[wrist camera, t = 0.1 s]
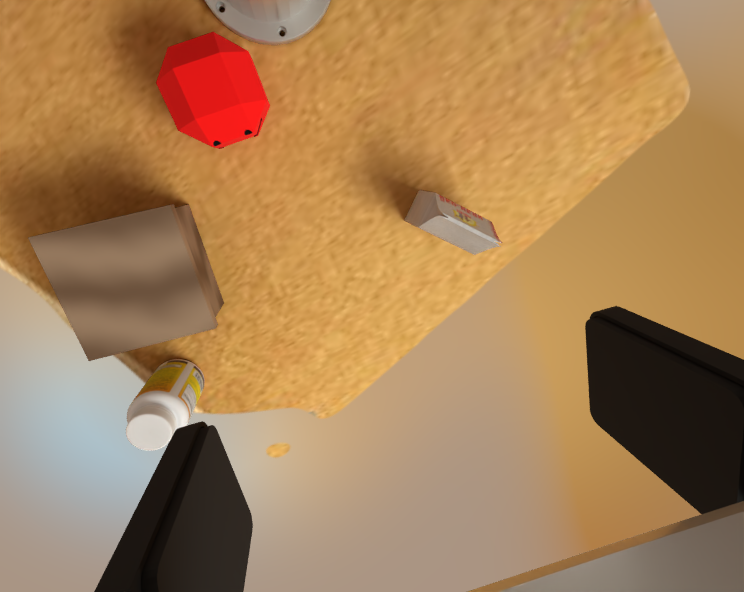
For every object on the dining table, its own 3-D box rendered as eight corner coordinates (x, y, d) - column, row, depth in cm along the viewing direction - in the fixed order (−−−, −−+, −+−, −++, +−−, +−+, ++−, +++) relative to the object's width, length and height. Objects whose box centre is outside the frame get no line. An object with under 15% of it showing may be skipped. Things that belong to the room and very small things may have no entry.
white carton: (454, 244, 48) (491, 263, 38) (404, 220, 46) (430, 233, 36) (469, 215, 47) (511, 227, 37) (419, 190, 45) (449, 194, 36)
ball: (204, 156, 41) (182, 153, 34) (165, 71, 38) (133, 48, 31) (279, 130, 41) (274, 121, 34) (246, 43, 38) (233, 14, 31)
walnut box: (72, 226, 41) (27, 237, 34) (191, 199, 42) (169, 204, 35) (121, 332, 44) (89, 361, 38) (228, 305, 45) (215, 328, 39)
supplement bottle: (144, 382, 46) (102, 438, 37) (174, 347, 46) (139, 394, 36) (186, 408, 48) (157, 468, 38) (216, 375, 48) (193, 427, 38)
